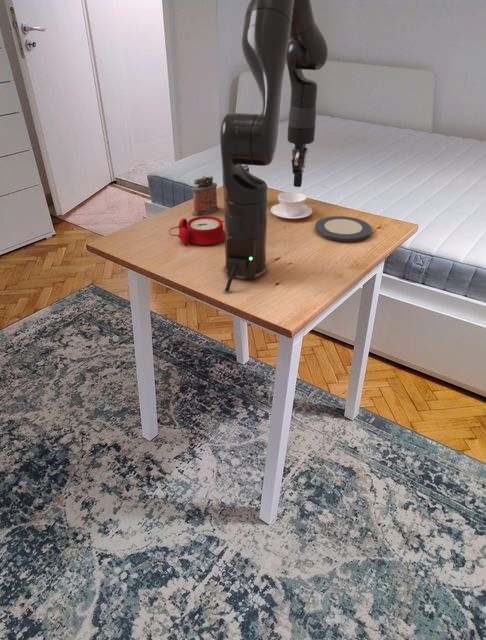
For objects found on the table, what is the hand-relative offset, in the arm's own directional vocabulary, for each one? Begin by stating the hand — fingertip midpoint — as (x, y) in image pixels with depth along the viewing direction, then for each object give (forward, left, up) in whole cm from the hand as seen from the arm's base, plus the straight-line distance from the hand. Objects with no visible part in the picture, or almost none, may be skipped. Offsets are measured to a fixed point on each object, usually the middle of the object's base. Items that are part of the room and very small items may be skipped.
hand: (297, 186), depth 143 cm
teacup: (-10, 0, -5) cm, 11 cm away
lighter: (-14, +24, -5) cm, 29 cm away
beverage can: (-6, +16, -5) cm, 18 cm away
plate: (-18, -16, -5) cm, 24 cm away
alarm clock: (-32, +20, -5) cm, 38 cm away
